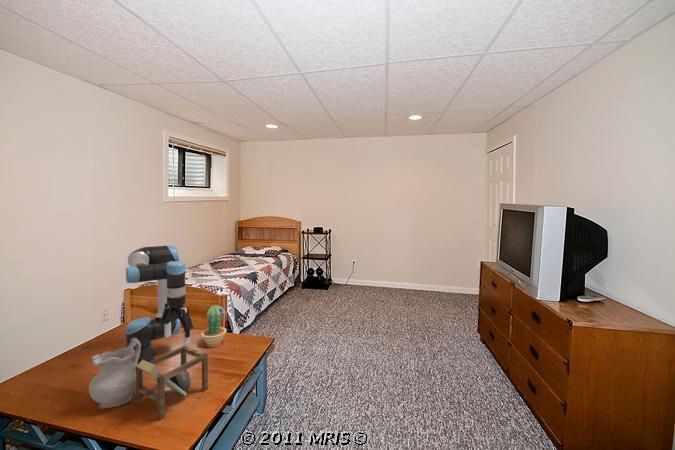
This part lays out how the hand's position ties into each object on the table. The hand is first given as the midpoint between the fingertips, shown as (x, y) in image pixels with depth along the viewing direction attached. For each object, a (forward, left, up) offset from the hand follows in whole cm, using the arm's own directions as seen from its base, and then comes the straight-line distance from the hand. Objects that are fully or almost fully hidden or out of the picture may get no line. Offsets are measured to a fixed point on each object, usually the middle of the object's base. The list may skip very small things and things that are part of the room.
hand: (176, 340), depth 131 cm
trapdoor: (0, -9, -15) cm, 17 cm away
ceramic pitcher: (-21, -14, -26) cm, 36 cm away
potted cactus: (-27, +42, -26) cm, 56 cm away
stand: (0, -2, -26) cm, 26 cm away
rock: (0, -2, -21) cm, 21 cm away
